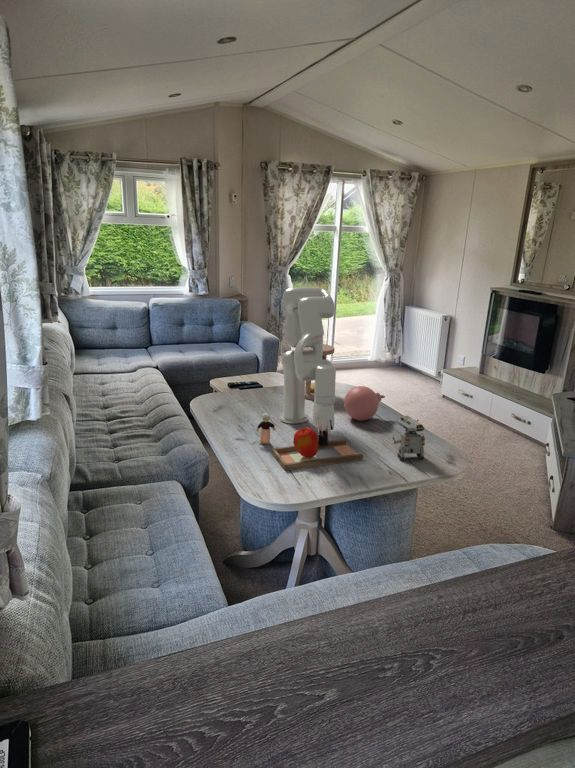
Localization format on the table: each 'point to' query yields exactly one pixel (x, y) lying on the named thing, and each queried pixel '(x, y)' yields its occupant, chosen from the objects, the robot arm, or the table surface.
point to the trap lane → (324, 456)
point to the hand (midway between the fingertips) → (323, 445)
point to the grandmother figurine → (265, 429)
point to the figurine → (410, 438)
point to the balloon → (362, 403)
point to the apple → (306, 442)
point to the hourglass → (310, 387)
